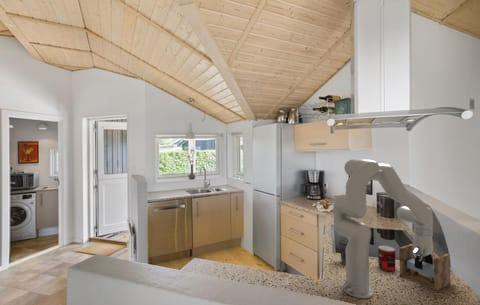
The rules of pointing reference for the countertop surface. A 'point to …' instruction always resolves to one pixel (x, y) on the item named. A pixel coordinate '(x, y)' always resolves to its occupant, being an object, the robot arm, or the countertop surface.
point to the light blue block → (426, 270)
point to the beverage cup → (343, 248)
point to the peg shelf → (436, 283)
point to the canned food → (386, 258)
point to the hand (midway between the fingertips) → (423, 266)
